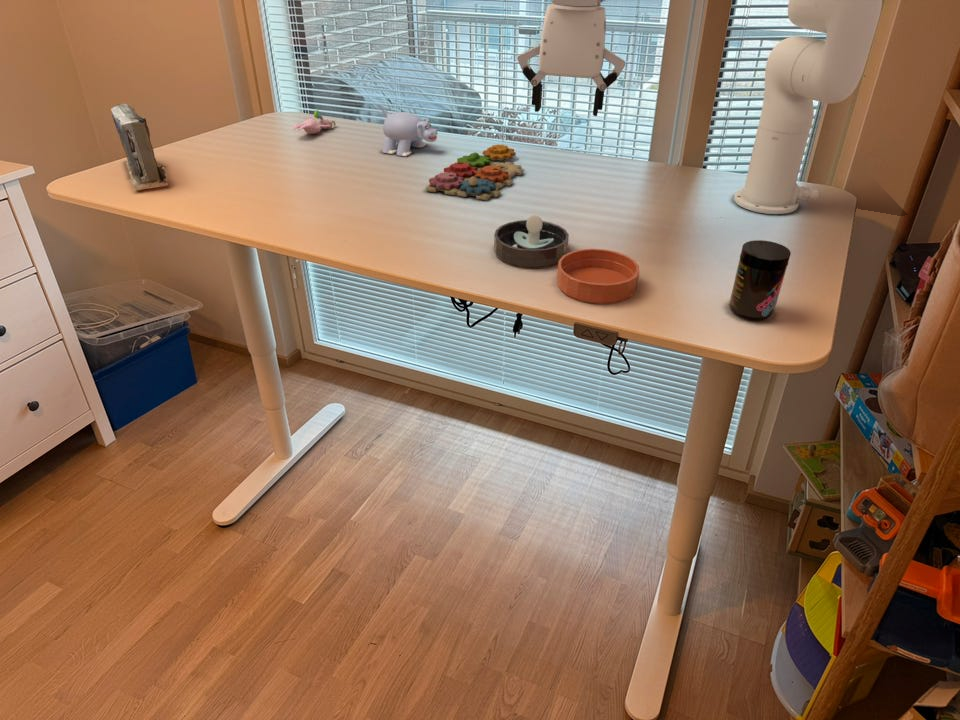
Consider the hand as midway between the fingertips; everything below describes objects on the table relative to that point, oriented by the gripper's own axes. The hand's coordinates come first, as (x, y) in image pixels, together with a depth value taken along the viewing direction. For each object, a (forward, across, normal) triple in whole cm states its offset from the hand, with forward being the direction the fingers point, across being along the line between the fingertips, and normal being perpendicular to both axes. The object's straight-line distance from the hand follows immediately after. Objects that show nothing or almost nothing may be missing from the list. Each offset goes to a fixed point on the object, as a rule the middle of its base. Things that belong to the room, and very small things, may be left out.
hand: (566, 112), depth 115 cm
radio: (+25, +95, -16) cm, 100 cm away
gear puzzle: (+23, +20, -32) cm, 44 cm away
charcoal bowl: (+23, +4, +6) cm, 24 cm away
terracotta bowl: (+23, -9, +16) cm, 30 cm away
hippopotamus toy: (+24, +41, -46) cm, 66 cm away
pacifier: (+23, +4, +6) cm, 24 cm away
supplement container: (+23, -32, +20) cm, 45 cm away
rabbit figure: (+24, +70, -54) cm, 92 cm away
